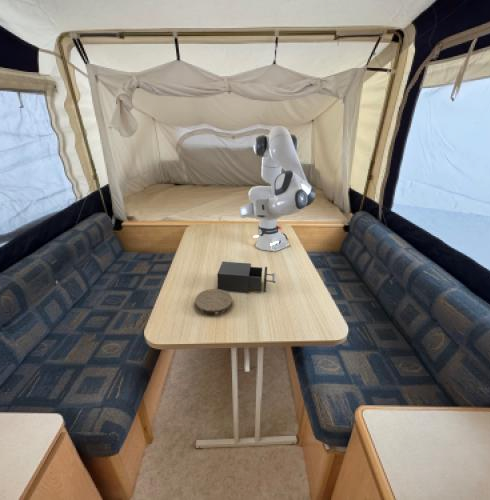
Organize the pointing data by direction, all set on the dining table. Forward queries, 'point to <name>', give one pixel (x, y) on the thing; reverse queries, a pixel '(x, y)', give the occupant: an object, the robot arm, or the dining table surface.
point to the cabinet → (234, 277)
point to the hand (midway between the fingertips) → (249, 216)
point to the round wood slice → (213, 302)
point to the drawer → (258, 278)
